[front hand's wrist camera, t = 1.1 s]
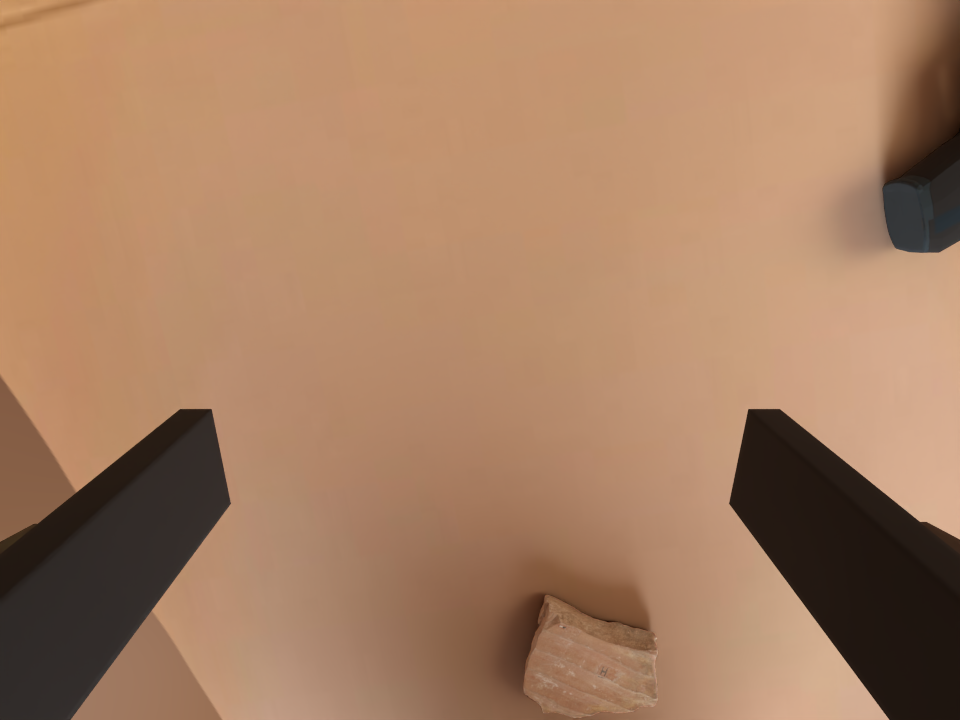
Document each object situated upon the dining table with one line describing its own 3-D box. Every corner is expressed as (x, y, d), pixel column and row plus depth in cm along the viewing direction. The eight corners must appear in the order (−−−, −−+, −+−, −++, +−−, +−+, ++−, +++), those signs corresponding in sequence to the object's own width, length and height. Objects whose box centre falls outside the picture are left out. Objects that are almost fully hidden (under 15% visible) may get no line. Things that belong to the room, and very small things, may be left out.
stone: (510, 687, 50) (512, 713, 47) (541, 591, 46) (545, 615, 43) (637, 705, 51) (645, 731, 48) (678, 613, 47) (689, 637, 44)
